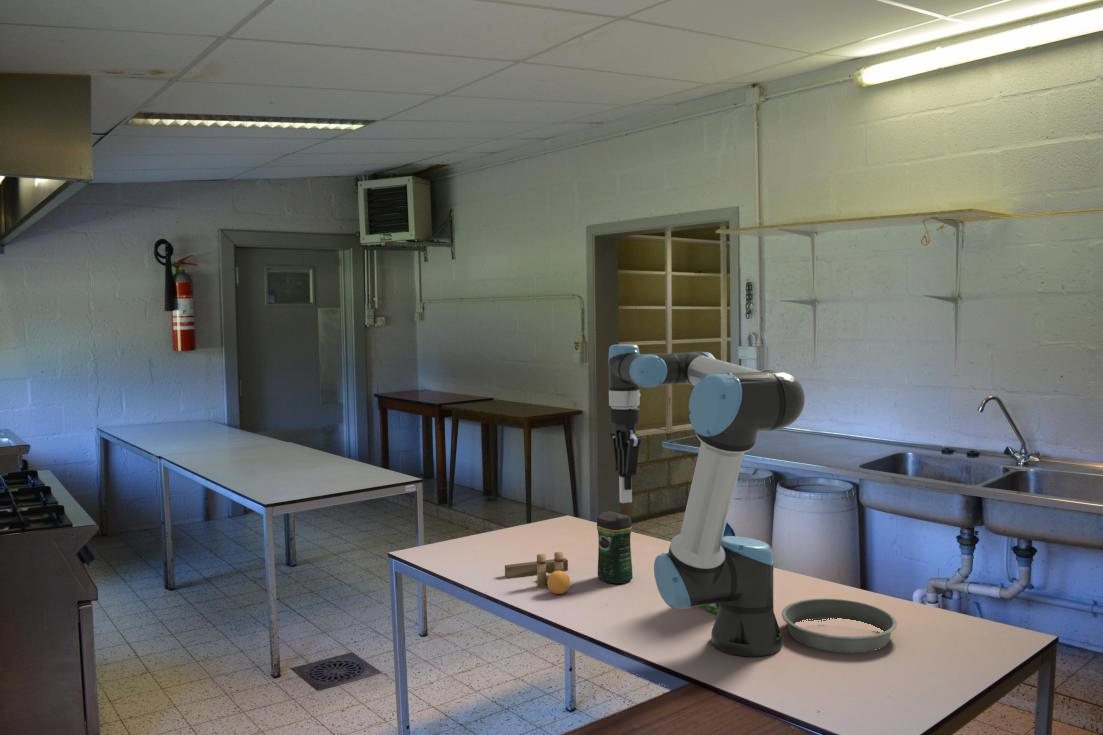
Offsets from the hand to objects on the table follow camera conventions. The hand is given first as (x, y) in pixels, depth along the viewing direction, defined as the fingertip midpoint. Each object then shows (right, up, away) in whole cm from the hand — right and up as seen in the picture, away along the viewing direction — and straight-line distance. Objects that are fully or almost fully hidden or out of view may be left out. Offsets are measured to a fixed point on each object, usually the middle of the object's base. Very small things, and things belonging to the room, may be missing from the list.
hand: (625, 501), depth 213 cm
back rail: (-23, -25, +31) cm, 45 cm away
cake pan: (+46, -27, -19) cm, 57 cm away
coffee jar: (-1, -25, +23) cm, 34 cm away
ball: (-17, -23, +12) cm, 31 cm away
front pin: (-18, -25, +17) cm, 35 cm away
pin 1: (-21, -26, +19) cm, 38 cm away
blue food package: (+21, -26, +1) cm, 34 cm away
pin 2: (-16, -25, +20) cm, 36 cm away
